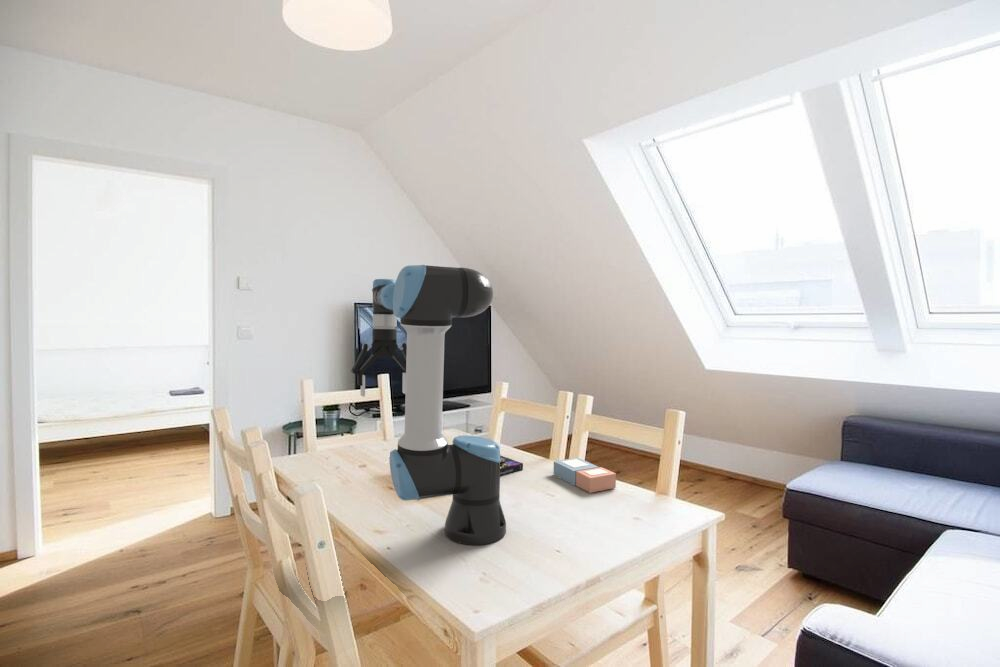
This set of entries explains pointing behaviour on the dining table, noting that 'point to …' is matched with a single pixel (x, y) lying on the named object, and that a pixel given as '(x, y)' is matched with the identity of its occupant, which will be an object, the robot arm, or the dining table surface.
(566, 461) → the white-topped blue block
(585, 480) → the white-topped pink block
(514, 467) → the box
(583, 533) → the dining table surface
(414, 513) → the dining table surface
